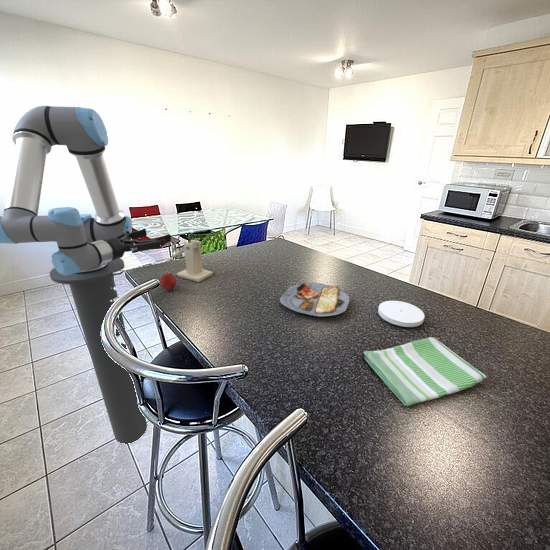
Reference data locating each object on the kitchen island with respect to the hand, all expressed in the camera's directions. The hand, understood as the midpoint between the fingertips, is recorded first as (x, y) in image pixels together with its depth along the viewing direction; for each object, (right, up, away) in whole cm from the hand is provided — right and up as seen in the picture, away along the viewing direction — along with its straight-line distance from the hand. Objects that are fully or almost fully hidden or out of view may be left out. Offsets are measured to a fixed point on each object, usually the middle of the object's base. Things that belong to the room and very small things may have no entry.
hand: (157, 234), depth 115 cm
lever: (+9, -7, +7) cm, 14 cm away
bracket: (+12, -16, +9) cm, 22 cm away
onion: (+6, -22, -4) cm, 23 cm away
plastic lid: (+88, -30, -19) cm, 95 cm away
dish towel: (+83, -40, -41) cm, 101 cm away
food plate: (+61, -26, -10) cm, 67 cm away
